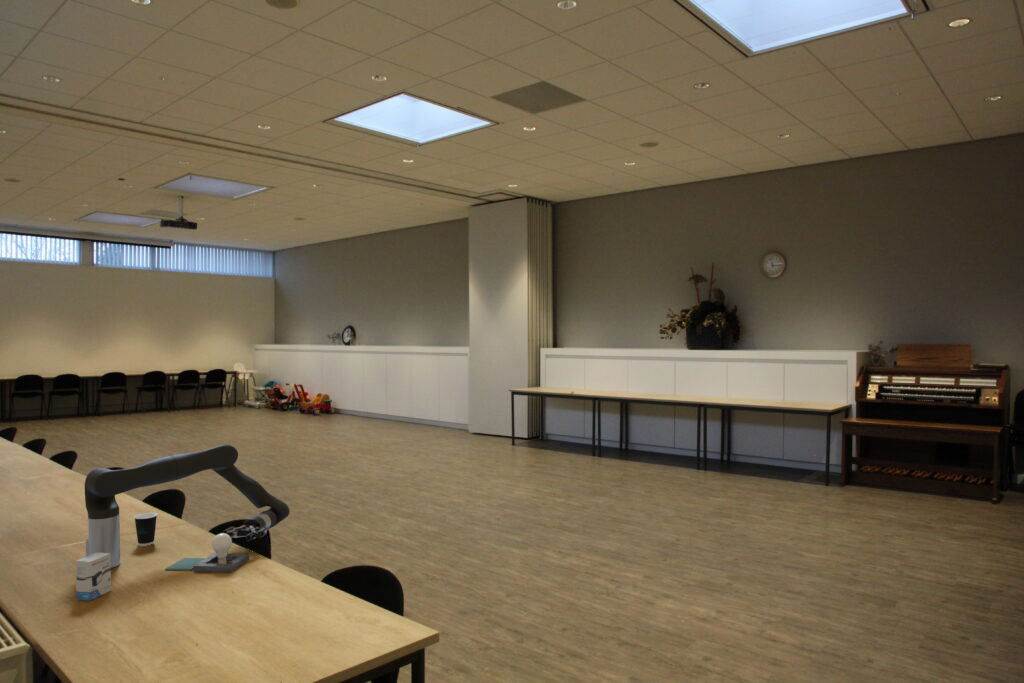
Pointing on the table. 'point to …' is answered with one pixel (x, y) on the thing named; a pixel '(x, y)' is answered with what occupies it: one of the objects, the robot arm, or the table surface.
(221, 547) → the lightbulb
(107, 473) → the robot arm
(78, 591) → the ink box
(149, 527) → the dixie cup
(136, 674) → the table surface
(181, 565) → the mat
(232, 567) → the holder
